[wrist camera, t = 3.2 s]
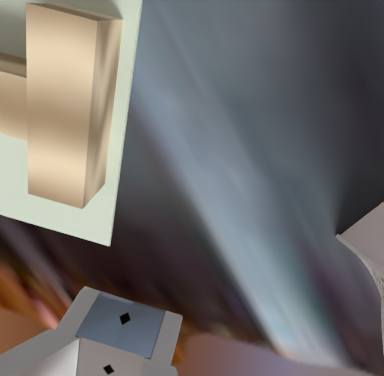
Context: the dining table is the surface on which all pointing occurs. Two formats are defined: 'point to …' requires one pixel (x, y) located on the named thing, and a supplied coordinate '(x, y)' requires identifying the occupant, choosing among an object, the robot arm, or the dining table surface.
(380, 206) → the skyscraper
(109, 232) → the mat
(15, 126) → the T block
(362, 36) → the dining table surface
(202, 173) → the dining table surface
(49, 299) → the dining table surface
